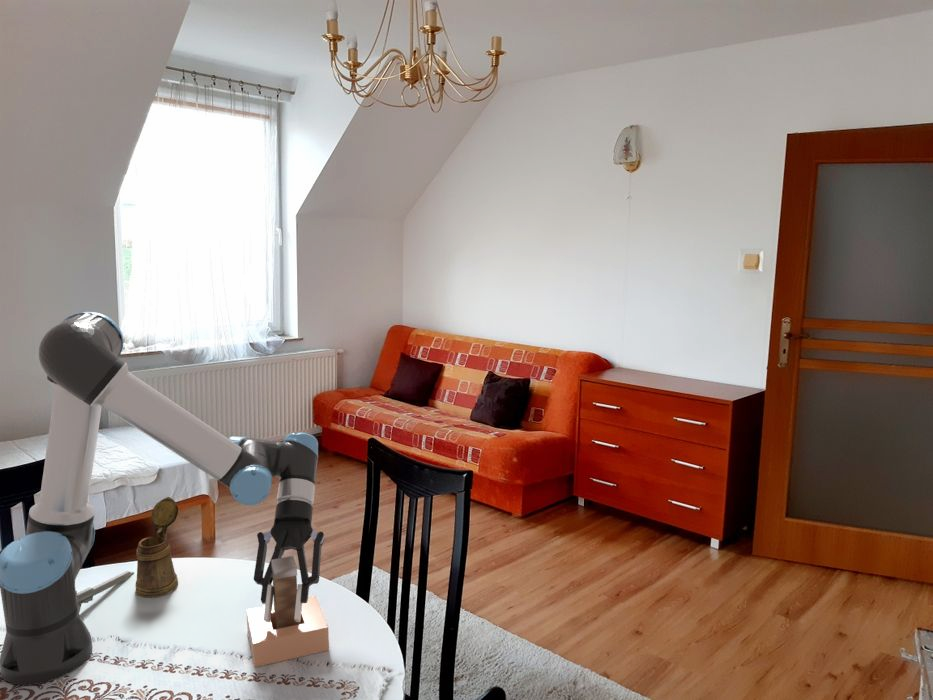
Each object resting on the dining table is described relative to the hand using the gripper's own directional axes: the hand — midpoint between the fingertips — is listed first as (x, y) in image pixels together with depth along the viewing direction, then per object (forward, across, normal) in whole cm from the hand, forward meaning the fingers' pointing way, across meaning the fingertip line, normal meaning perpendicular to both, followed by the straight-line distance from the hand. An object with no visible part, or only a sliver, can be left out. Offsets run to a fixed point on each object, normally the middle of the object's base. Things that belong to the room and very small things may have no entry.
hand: (282, 620), depth 137 cm
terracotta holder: (+2, 0, -8) cm, 8 cm away
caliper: (-10, +44, -20) cm, 49 cm away
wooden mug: (-14, +33, -24) cm, 43 cm away
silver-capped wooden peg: (+2, 0, -7) cm, 7 cm away
